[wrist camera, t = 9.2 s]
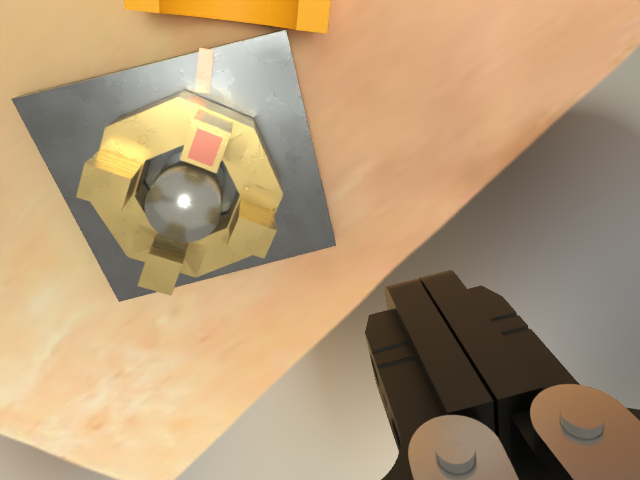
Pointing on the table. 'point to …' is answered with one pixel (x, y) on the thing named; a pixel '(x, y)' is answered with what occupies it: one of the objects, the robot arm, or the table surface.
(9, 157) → the table surface
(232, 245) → the ring nut
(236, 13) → the pipe clamp
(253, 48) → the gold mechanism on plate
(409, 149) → the table surface
